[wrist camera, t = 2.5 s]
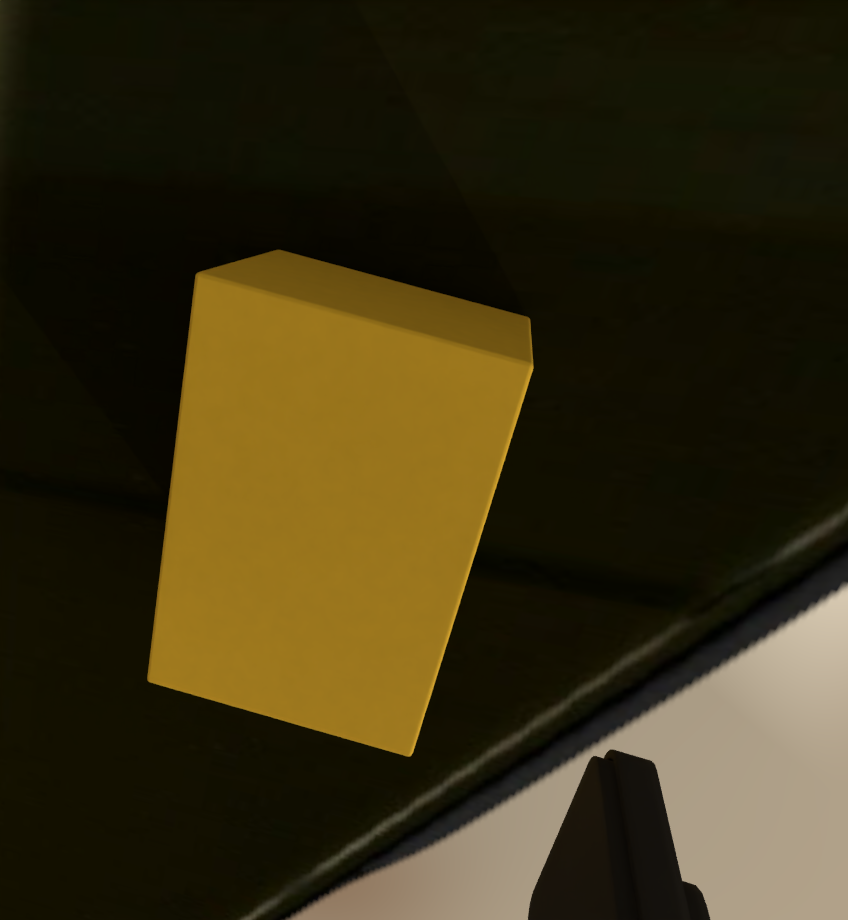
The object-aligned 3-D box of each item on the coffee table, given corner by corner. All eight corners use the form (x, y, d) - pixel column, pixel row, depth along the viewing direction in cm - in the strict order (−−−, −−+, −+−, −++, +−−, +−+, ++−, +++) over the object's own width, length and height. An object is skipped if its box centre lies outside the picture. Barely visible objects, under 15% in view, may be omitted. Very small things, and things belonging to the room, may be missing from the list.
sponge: (276, 248, 16) (194, 271, 12) (531, 317, 16) (535, 364, 12) (223, 577, 20) (145, 683, 16) (434, 637, 20) (411, 759, 16)
